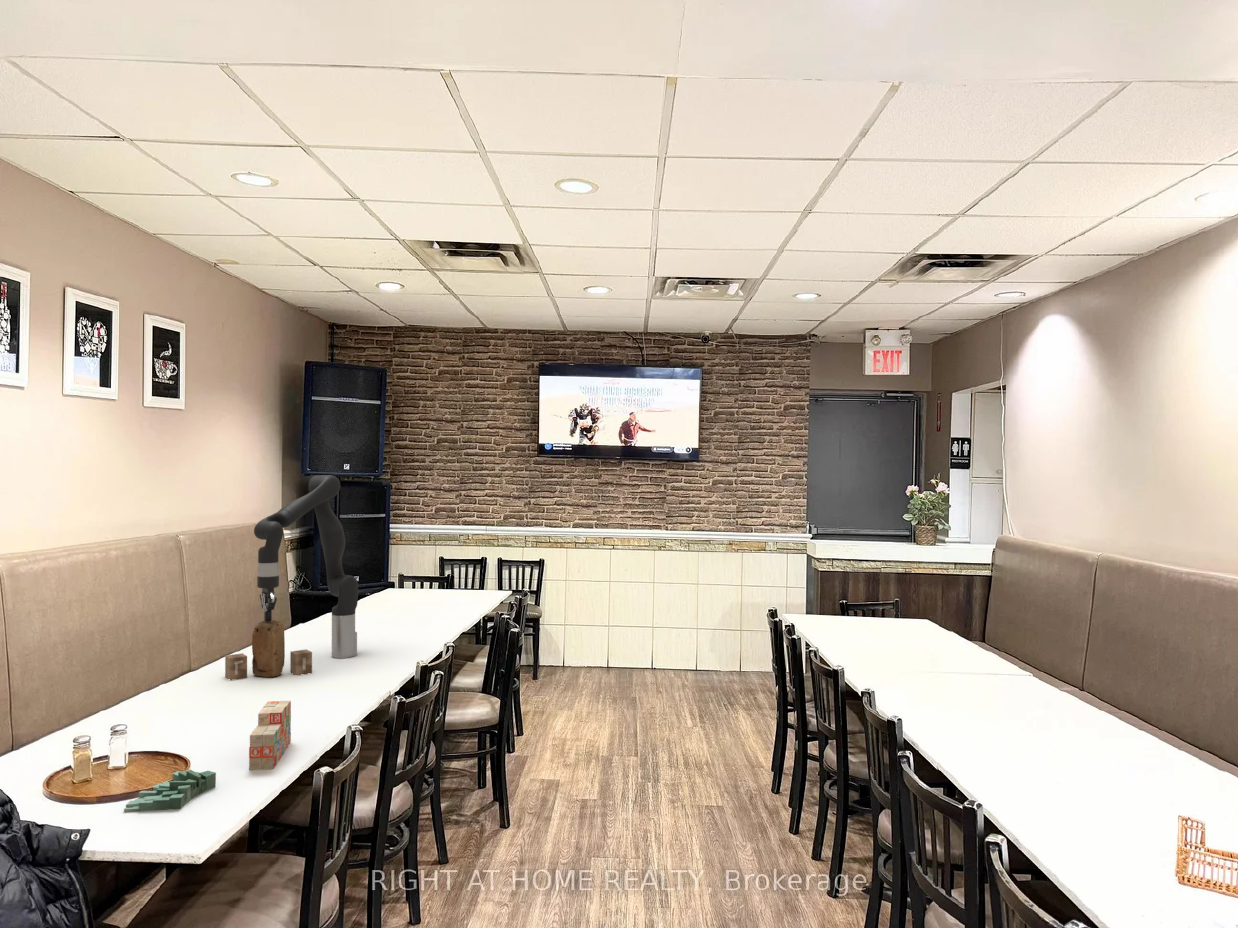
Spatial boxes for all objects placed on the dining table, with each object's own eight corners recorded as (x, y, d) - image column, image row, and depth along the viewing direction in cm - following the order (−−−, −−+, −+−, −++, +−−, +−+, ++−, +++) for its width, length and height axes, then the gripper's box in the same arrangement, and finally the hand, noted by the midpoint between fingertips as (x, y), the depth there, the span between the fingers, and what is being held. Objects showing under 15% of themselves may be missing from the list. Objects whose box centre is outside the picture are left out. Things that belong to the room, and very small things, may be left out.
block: (286, 673, 317) (286, 620, 317) (274, 678, 310) (274, 624, 310) (261, 671, 320) (261, 619, 320) (248, 676, 313) (248, 622, 313)
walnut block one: (306, 670, 323) (306, 649, 323) (312, 673, 318) (312, 652, 318) (290, 672, 319) (290, 651, 319) (296, 675, 315) (296, 654, 314)
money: (199, 809, 195) (199, 788, 195) (122, 814, 192) (122, 793, 192) (224, 777, 215) (224, 758, 215) (155, 781, 212) (155, 762, 212)
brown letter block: (242, 674, 316) (242, 653, 316) (247, 677, 311) (247, 656, 311) (225, 677, 312) (225, 655, 312) (229, 680, 307) (230, 658, 307)
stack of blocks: (274, 769, 220) (274, 722, 220) (248, 771, 218) (248, 723, 218) (291, 742, 241) (291, 699, 241) (267, 743, 240) (267, 700, 239)
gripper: (284, 575, 312) (284, 622, 312) (272, 571, 322) (272, 617, 322) (263, 577, 307) (262, 624, 307) (252, 573, 318) (251, 619, 318)
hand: (267, 620), depth 315 cm, fingers closed
